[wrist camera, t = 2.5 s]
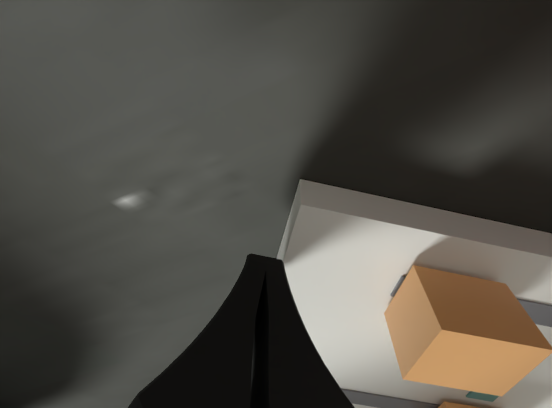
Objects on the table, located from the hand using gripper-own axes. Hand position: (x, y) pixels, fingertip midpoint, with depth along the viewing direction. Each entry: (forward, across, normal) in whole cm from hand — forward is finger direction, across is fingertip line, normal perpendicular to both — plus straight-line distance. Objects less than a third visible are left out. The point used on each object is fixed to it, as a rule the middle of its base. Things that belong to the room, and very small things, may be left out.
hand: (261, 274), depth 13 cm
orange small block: (+1, -8, 0) cm, 8 cm away
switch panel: (+3, -11, +4) cm, 12 cm away
